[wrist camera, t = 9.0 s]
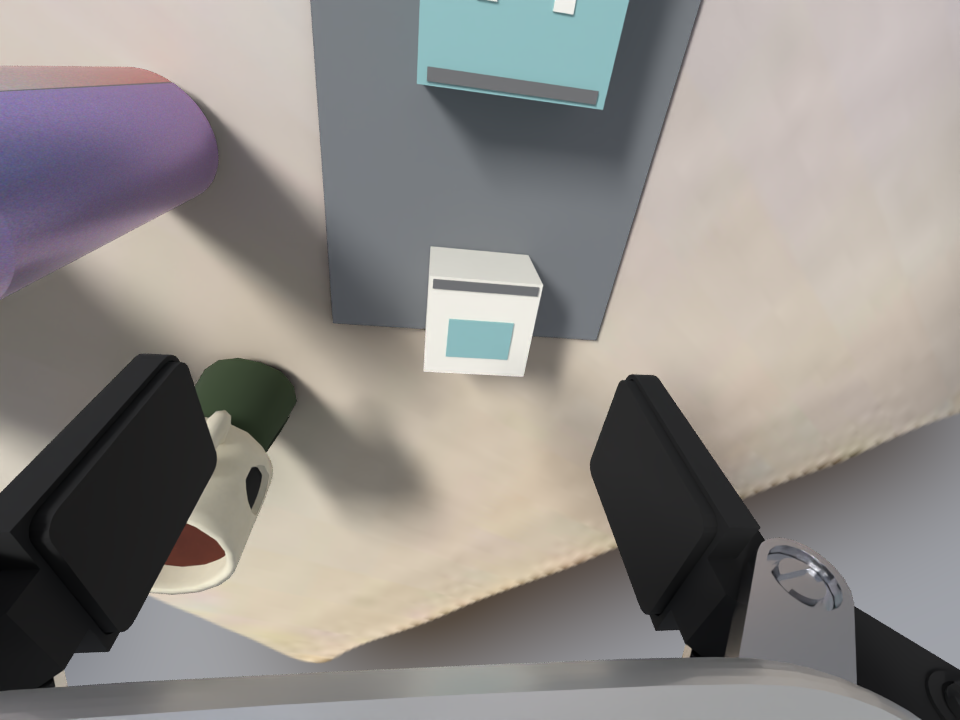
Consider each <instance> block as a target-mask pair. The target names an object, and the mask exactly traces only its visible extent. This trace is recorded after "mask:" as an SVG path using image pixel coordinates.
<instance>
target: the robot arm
mask: <svg viewBox="0 0 960 720" xmlns="http://www.w3.org/2000/svg"><path fill="white" fill-rule="evenodd" d="M216 464H217V453H216V450H215V447H214V444H213V441H212V438H211V435H210V432H209V429H208V426H207V422H206V419H205V416H204V413H203V410H202V407H201V404H200V401H199V398H198V395H197V392H196V389H195V386H194V383H193V380H192V377H191V374H190V371H189V368H188V366H187V365H186V364H185V363H183V362H180V361H179V359H178V358H177V357H176V356H173V355H161V354H139V355H138V356H136V357H135V358H134V359H133V360H132V361H131V362H130V363H129V364H128V365H127V366H126V367H125V368H124V369H123V370H122V371H121V372H120V373H119V374H118V375H117V376H116V377H115V378H114V379H113V380H112V381H111V382H110V383H109V384H108V385H107V386H106V387H105V388H104V389H103V390H102V391H101V392H100V393H99V394H98V395H97V396H96V397H95V398H94V399H93V400H92V401H91V402H90V403H89V404H88V405H87V406H86V407H85V408H84V409H83V410H82V411H81V412H80V413H79V414H78V415H77V416H76V417H75V418H74V419H73V420H72V421H71V422H70V423H69V424H68V425H67V426H66V427H65V428H64V429H63V430H62V431H61V432H60V433H59V434H58V435H57V436H56V437H55V438H54V439H53V440H52V441H51V442H50V443H49V444H48V445H47V446H46V447H45V448H44V449H43V450H42V451H41V452H40V453H39V454H38V455H37V456H36V457H35V459H34V460H33V461H32V462H31V463H30V464H29V465H28V466H27V467H26V468H25V469H24V470H23V471H22V472H21V473H20V474H19V475H18V476H17V477H16V478H15V479H14V480H13V481H12V482H11V483H10V484H9V485H8V486H7V487H6V488H5V489H4V490H3V491H2V492H1V493H0V720H960V670H959V669H957V668H956V667H954V666H952V665H951V664H949V663H947V662H945V661H944V660H942V659H941V658H939V657H937V656H936V655H934V654H932V653H931V652H929V651H928V650H926V649H924V648H922V647H921V646H919V645H918V644H916V643H914V642H913V641H911V640H909V639H908V638H906V637H904V636H903V635H901V634H899V633H898V632H896V631H894V630H893V629H891V628H889V627H888V626H886V625H884V624H883V623H881V622H879V621H878V620H876V619H875V618H873V617H871V616H870V615H868V614H866V613H864V612H863V611H861V610H859V609H858V608H856V607H855V606H854V601H853V597H852V593H851V590H850V588H849V587H848V585H847V583H846V581H845V579H844V578H843V577H842V576H841V574H840V573H839V572H838V571H837V570H836V568H835V567H834V566H833V565H832V564H831V563H830V562H828V561H827V560H826V559H825V558H824V557H822V556H821V555H820V554H819V553H817V552H815V551H814V550H812V549H810V548H809V547H807V546H805V545H803V544H801V543H798V542H796V541H794V540H790V539H785V538H780V537H779V538H769V539H767V540H764V538H763V537H762V535H761V534H760V532H759V531H758V530H759V529H760V526H759V525H758V523H757V522H756V520H755V519H754V517H753V516H752V514H751V513H750V511H749V510H748V509H747V507H746V506H745V504H744V503H743V501H742V500H741V498H740V497H739V495H738V494H737V492H736V491H735V489H734V488H733V487H732V485H731V484H730V482H729V481H728V479H727V478H726V476H725V475H724V473H723V472H722V470H721V469H720V468H719V466H718V465H717V463H716V462H715V460H714V459H713V457H712V456H711V454H710V453H709V451H708V450H707V449H706V447H705V446H704V444H703V443H702V441H701V440H700V438H699V437H698V435H697V434H696V432H695V431H694V430H693V428H692V427H691V425H690V424H689V422H688V421H687V419H686V418H685V416H684V415H683V413H682V412H681V411H680V409H679V408H678V406H677V405H676V403H675V402H674V400H673V399H672V397H671V396H670V394H669V393H668V392H667V390H666V389H665V387H664V386H663V384H662V383H661V381H660V380H659V379H658V378H657V377H656V376H654V375H634V374H632V375H629V376H628V377H627V378H626V380H622V381H620V382H619V384H618V387H617V389H616V392H615V395H614V398H613V400H612V403H611V406H610V409H609V411H608V414H607V417H606V419H605V422H604V425H603V428H602V430H601V433H600V436H599V439H598V441H597V444H596V447H595V449H594V452H593V455H592V458H591V461H590V471H591V475H592V478H593V481H594V483H595V486H596V489H597V491H598V494H599V497H600V500H601V502H602V505H603V508H604V511H605V513H606V516H607V519H608V521H609V524H610V527H611V530H612V532H613V535H614V538H615V540H616V543H617V546H618V549H619V551H620V554H621V557H622V559H623V562H624V565H625V568H626V570H627V573H628V576H629V579H630V581H631V584H632V587H633V589H634V592H635V595H636V598H637V600H638V603H639V605H640V608H641V610H642V611H643V612H644V613H645V614H648V615H650V617H651V620H652V623H653V625H654V628H655V630H656V631H660V630H661V631H663V630H680V632H681V635H682V637H683V640H684V642H685V644H686V645H685V648H684V652H683V656H682V658H650V659H616V660H591V661H566V662H544V663H519V664H494V665H473V666H450V667H429V668H407V669H385V670H365V671H343V672H322V673H300V674H281V675H262V676H242V677H222V678H203V679H185V680H164V681H145V682H126V683H112V684H97V685H83V686H69V687H68V686H67V681H66V677H65V672H64V669H65V667H66V666H67V664H68V662H69V661H70V659H71V658H72V656H73V654H74V653H89V652H109V651H110V649H111V647H112V645H113V644H114V642H115V640H116V638H117V636H118V635H119V633H120V632H124V631H126V630H127V629H128V628H129V627H130V626H131V625H132V624H133V622H134V620H135V619H136V617H137V615H138V613H139V611H140V609H141V608H142V606H143V604H144V602H145V600H146V598H147V596H148V594H149V593H150V591H151V589H152V587H153V585H154V583H155V581H156V579H157V578H158V576H159V574H160V572H161V570H162V568H163V566H164V564H165V562H166V561H167V559H168V557H169V555H170V553H171V551H172V549H173V547H174V546H175V544H176V542H177V540H178V538H179V536H180V534H181V532H182V531H183V529H184V527H185V525H186V523H187V521H188V519H189V517H190V516H191V514H192V512H193V510H194V508H195V506H196V504H197V502H198V501H199V499H200V497H201V495H202V493H203V491H204V489H205V487H206V486H207V484H208V482H209V480H210V478H211V476H212V474H213V472H214V470H215V468H216Z"/></svg>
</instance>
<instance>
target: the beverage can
mask: <svg viewBox="0 0 960 720" xmlns="http://www.w3.org/2000/svg"><path fill="white" fill-rule="evenodd" d="M217 168H218V148H217V143H216V139H215V136H214V133H213V130H212V128H211V126H210V124H209V122H208V120H207V118H206V117H205V115H204V114H203V112H202V111H201V109H200V108H199V107H198V105H197V104H196V103H195V102H194V101H193V100H192V99H191V98H190V97H189V96H188V95H187V94H186V93H185V92H184V91H183V90H182V89H181V88H179V87H178V86H177V85H175V84H174V83H172V82H171V81H169V80H168V79H166V78H164V77H162V76H160V75H158V74H156V73H153V72H151V71H148V70H144V69H140V68H135V67H81V66H0V300H1V299H3V298H5V297H6V296H8V295H10V294H12V293H14V292H16V291H18V290H20V289H22V288H24V287H25V286H27V285H29V284H31V283H33V282H35V281H37V280H39V279H41V278H43V277H44V276H46V275H48V274H50V273H52V272H54V271H56V270H58V269H60V268H61V267H63V266H65V265H67V264H69V263H71V262H73V261H75V260H77V259H79V258H80V257H82V256H84V255H86V254H88V253H90V252H92V251H94V250H96V249H98V248H99V247H101V246H103V245H105V244H107V243H109V242H111V241H113V240H115V239H117V238H118V237H120V236H122V235H124V234H126V233H128V232H130V231H132V230H134V229H135V228H137V227H139V226H141V225H143V224H145V223H147V222H149V221H151V220H153V219H154V218H156V217H158V216H160V215H162V214H164V213H166V212H168V211H170V210H172V209H173V208H175V207H177V206H179V205H181V204H183V203H185V202H187V201H189V200H190V199H192V198H194V197H196V196H198V195H200V194H201V193H203V192H204V191H205V190H206V189H207V188H208V187H209V186H210V185H211V183H212V181H213V180H214V178H215V175H216V172H217Z"/></svg>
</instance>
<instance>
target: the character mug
mask: <svg viewBox="0 0 960 720" xmlns="http://www.w3.org/2000/svg"><path fill="white" fill-rule="evenodd" d="M195 389H196V392H197V395H198V398H199V401H200V404H201V407H202V410H203V413H204V416H205V419H206V422H207V426H208V429H209V432H210V435H211V438H212V441H213V444H214V447H215V450H216V453H217V464H216V468H215V470H214V472H213V474H212V476H211V478H210V480H209V482H208V484H207V486H206V487H205V489H204V491H203V493H202V495H201V497H200V499H199V501H198V502H197V504H196V506H195V508H194V510H193V512H192V514H191V516H190V517H189V519H188V521H187V523H186V525H185V527H184V529H183V531H182V532H181V534H180V536H179V538H178V540H177V542H176V544H175V546H174V547H173V549H172V551H171V553H170V555H169V557H168V559H167V561H166V562H165V564H164V566H163V568H162V570H161V572H160V574H159V576H158V578H157V579H156V581H155V583H154V585H153V587H152V589H151V591H150V593H158V594H171V595H175V594H185V593H195V592H201V591H204V590H207V589H210V588H213V587H216V586H219V585H220V584H222V583H223V582H225V581H226V580H227V579H229V578H230V577H231V575H232V574H233V573H234V571H235V569H236V567H237V564H238V562H239V560H240V557H241V555H242V552H243V550H244V547H245V545H246V542H247V540H248V537H249V535H250V532H251V530H252V528H253V525H254V523H255V521H256V518H257V516H258V514H259V512H260V509H261V507H262V504H263V502H264V500H265V497H266V493H267V491H268V488H269V486H270V483H271V479H272V475H273V467H272V463H271V460H270V458H269V457H268V455H267V454H266V452H267V451H268V449H269V448H270V447H271V445H272V444H273V442H274V441H275V439H276V438H277V436H278V435H279V433H280V432H281V430H282V428H283V427H284V425H285V423H286V422H287V420H288V418H289V417H288V416H289V414H290V412H291V411H292V409H293V407H294V406H295V404H296V401H297V400H296V395H295V391H294V386H293V385H292V384H291V382H290V381H289V380H288V379H287V378H286V376H285V375H284V374H283V373H282V372H281V371H279V370H277V369H275V368H272V367H270V366H268V365H266V364H263V363H261V362H256V361H251V360H246V359H241V358H234V359H226V360H218V361H217V362H215V363H214V364H212V365H211V366H209V367H208V368H207V369H205V370H204V372H203V374H202V375H201V377H200V379H199V380H198V382H197V384H196V386H195Z"/></svg>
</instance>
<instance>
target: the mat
mask: <svg viewBox="0 0 960 720" xmlns="http://www.w3.org/2000/svg"><path fill="white" fill-rule="evenodd" d="M310 2H311V16H312V31H313V45H314V59H315V73H316V88H317V102H318V116H319V131H320V145H321V159H322V173H323V188H324V202H325V216H326V231H327V245H328V259H329V273H330V288H331V302H332V316H333V323H338V324H354V325H369V326H385V327H400V328H415V329H426V313H427V297H428V280H429V264H430V248H431V246H433V247H444V248H455V249H467V250H478V251H489V252H500V253H511V254H522V255H529V257H530V259H531V261H532V263H533V265H534V267H535V270H536V272H537V274H538V276H539V278H540V280H541V282H542V284H543V288H542V293H541V297H540V302H539V307H538V311H537V316H536V320H535V325H534V330H533V334H532V336H539V337H554V338H570V339H585V340H596V339H597V335H598V332H599V329H600V326H601V322H602V319H603V316H604V313H605V309H606V306H607V303H608V300H609V297H610V293H611V290H612V287H613V284H614V280H615V277H616V274H617V271H618V267H619V264H620V261H621V258H622V254H623V251H624V248H625V245H626V242H627V238H628V235H629V232H630V229H631V225H632V222H633V219H634V216H635V212H636V209H637V206H638V203H639V199H640V196H641V193H642V190H643V186H644V183H645V180H646V177H647V174H648V170H649V167H650V164H651V161H652V157H653V154H654V151H655V148H656V144H657V141H658V138H659V135H660V131H661V128H662V125H663V122H664V118H665V115H666V112H667V109H668V106H669V102H670V99H671V96H672V93H673V89H674V86H675V83H676V80H677V76H678V73H679V70H680V67H681V63H682V60H683V57H684V54H685V50H686V47H687V44H688V41H689V38H690V34H691V31H692V28H693V25H694V21H695V18H696V15H697V12H698V8H699V5H700V2H701V0H629V3H628V7H627V11H626V15H625V20H624V24H623V28H622V32H621V36H620V40H619V45H618V49H617V53H616V57H615V61H614V66H613V70H612V74H611V78H610V82H609V86H608V91H607V95H606V99H605V103H604V107H603V110H600V109H593V108H586V107H579V106H572V105H565V104H558V103H550V102H543V101H536V100H529V99H522V98H515V97H507V96H500V95H493V94H486V93H479V92H472V91H465V90H457V89H450V88H443V87H436V86H429V85H422V84H417V64H418V36H419V8H420V0H310Z"/></svg>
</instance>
